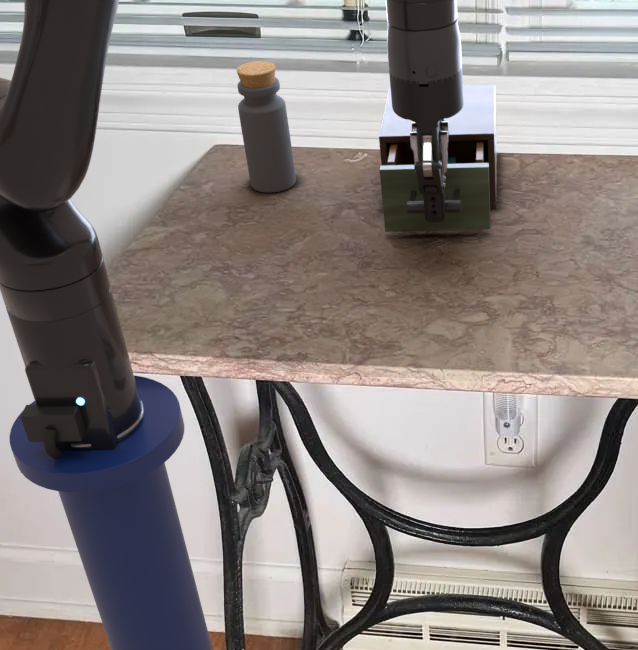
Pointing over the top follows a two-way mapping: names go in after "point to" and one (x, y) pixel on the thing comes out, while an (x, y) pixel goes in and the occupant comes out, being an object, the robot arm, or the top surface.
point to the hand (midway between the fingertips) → (435, 219)
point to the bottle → (265, 128)
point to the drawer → (460, 190)
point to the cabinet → (453, 127)
